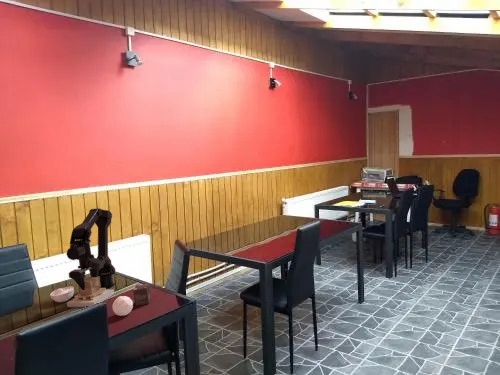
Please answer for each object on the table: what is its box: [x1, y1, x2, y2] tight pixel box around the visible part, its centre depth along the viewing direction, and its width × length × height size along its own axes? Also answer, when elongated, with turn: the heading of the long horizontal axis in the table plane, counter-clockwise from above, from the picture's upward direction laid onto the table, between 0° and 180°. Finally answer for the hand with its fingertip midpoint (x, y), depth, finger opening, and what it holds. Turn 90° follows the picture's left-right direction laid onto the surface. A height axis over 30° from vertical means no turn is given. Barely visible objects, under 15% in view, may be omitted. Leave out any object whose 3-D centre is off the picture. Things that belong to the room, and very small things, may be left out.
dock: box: [66, 288, 115, 308], centre depth 193 cm, size 16×14×2 cm
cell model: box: [49, 285, 75, 303], centre depth 196 cm, size 10×12×7 cm
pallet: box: [73, 288, 107, 300], centre depth 193 cm, size 10×10×2 cm
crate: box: [79, 276, 100, 294], centre depth 192 cm, size 6×6×6 cm
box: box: [132, 283, 152, 306], centre depth 182 cm, size 6×6×7 cm
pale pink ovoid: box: [112, 295, 135, 317], centre depth 172 cm, size 8×8×12 cm
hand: (89, 286), depth 192 cm, fingers open, 9 cm apart
